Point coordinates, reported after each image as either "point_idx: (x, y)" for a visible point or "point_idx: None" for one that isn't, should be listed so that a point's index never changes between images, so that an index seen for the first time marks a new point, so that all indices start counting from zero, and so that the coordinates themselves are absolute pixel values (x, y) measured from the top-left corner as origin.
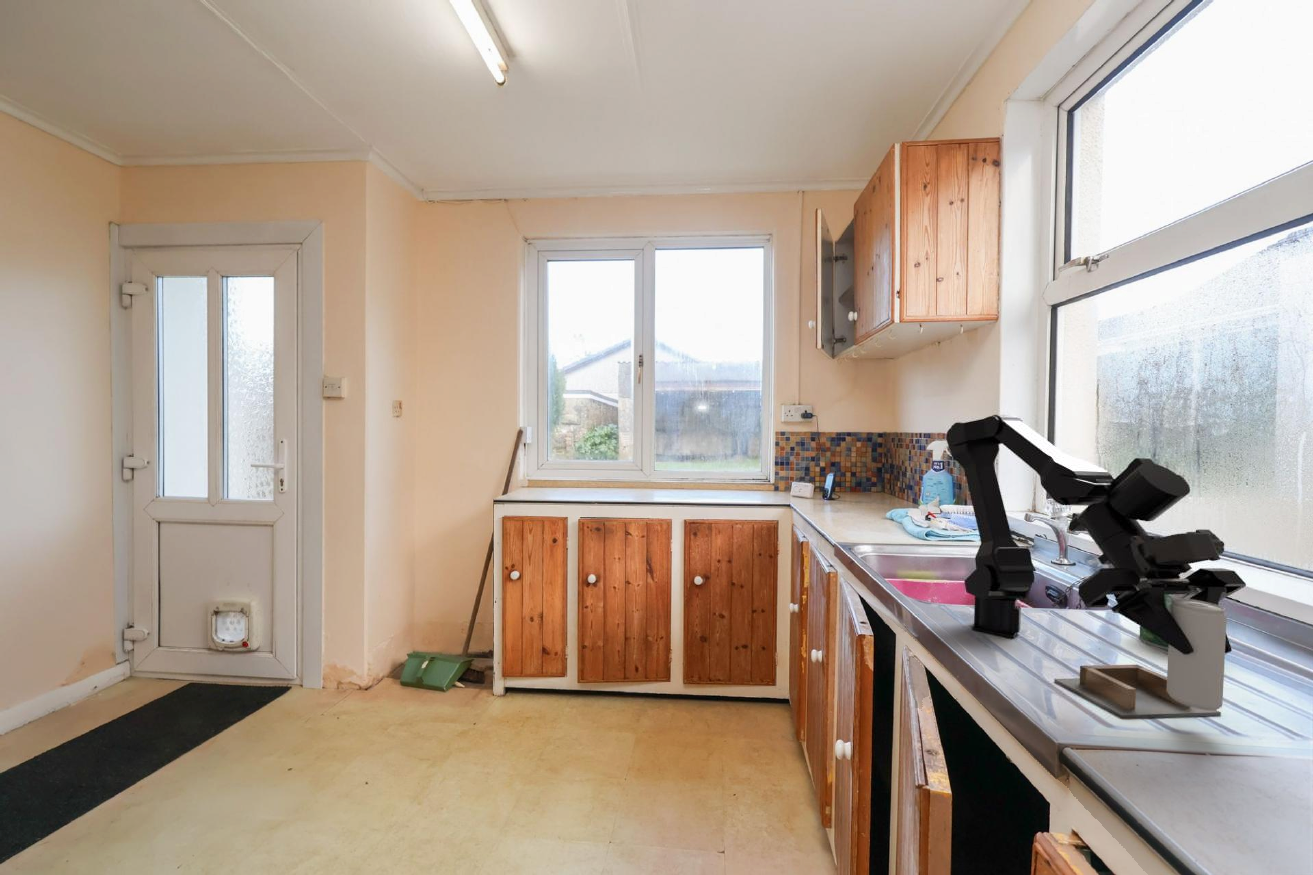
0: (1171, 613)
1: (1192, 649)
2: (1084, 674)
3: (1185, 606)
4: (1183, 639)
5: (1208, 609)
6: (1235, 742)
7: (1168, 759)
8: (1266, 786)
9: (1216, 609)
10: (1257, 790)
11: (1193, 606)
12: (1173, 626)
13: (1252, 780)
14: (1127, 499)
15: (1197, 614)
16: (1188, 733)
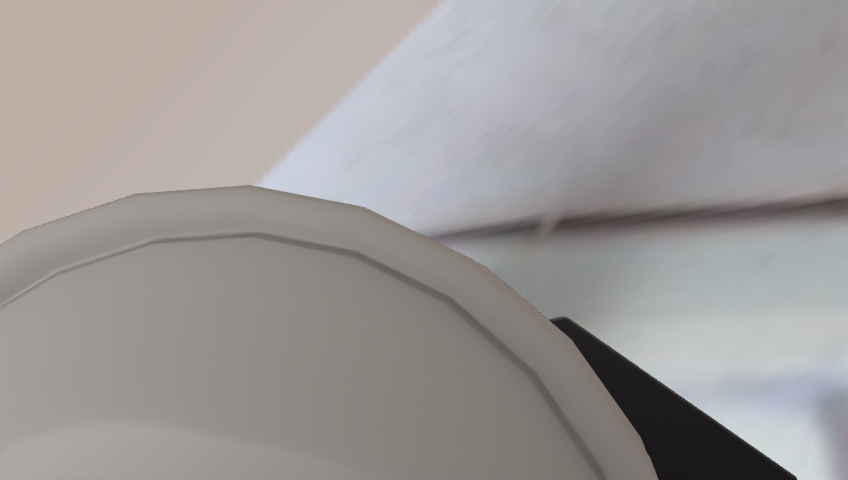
0: None
1: (549, 319)
2: None
3: (648, 475)
4: (619, 362)
5: (327, 209)
6: None
7: (745, 153)
8: (506, 43)
9: (49, 352)
10: (561, 13)
11: (455, 476)
12: (727, 450)
13: (525, 70)
14: None
15: (509, 290)
16: None
